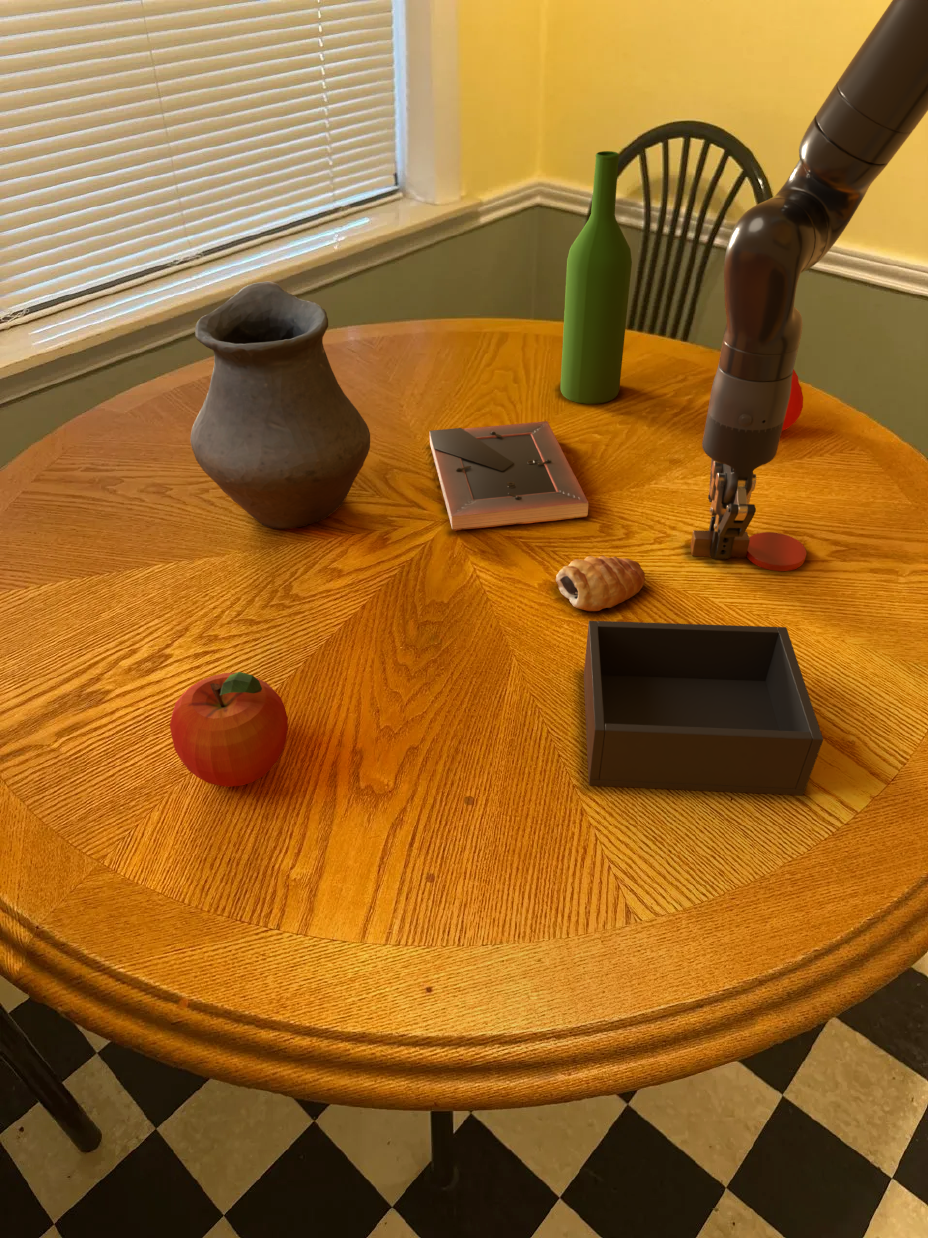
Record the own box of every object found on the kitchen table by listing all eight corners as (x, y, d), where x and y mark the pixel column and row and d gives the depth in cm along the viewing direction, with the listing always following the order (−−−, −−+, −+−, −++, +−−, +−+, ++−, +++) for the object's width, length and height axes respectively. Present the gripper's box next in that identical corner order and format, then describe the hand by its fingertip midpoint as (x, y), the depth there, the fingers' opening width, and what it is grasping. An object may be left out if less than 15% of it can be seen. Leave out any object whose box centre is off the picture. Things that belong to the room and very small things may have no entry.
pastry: (623, 563, 97) (627, 535, 94) (657, 597, 92) (662, 568, 89) (550, 585, 94) (551, 556, 91) (581, 621, 89) (584, 592, 87)
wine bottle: (621, 381, 134) (645, 146, 113) (616, 406, 127) (640, 161, 106) (564, 377, 135) (577, 144, 115) (556, 401, 129) (568, 159, 108)
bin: (770, 681, 81) (786, 626, 77) (803, 795, 71) (823, 739, 67) (583, 674, 83) (588, 620, 78) (588, 785, 72) (594, 729, 68)
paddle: (797, 538, 100) (802, 520, 98) (810, 572, 95) (816, 554, 93) (687, 535, 101) (690, 518, 99) (694, 568, 96) (698, 551, 94)
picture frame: (430, 446, 119) (452, 532, 102) (429, 430, 117) (451, 514, 100) (547, 435, 120) (587, 518, 104) (547, 419, 119) (588, 500, 102)
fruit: (205, 719, 79) (180, 636, 73) (306, 725, 78) (290, 642, 72) (166, 802, 72) (135, 718, 65) (278, 810, 71) (257, 726, 65)
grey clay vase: (207, 565, 98) (152, 352, 82) (211, 472, 114) (165, 280, 99) (386, 541, 101) (367, 331, 85) (364, 453, 117) (345, 264, 102)
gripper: (800, 443, 81) (763, 589, 92) (771, 381, 92) (741, 519, 103) (719, 441, 82) (692, 586, 93) (699, 380, 92) (677, 517, 103)
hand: (718, 550), depth 98 cm, fingers closed on paddle, 2 cm apart
